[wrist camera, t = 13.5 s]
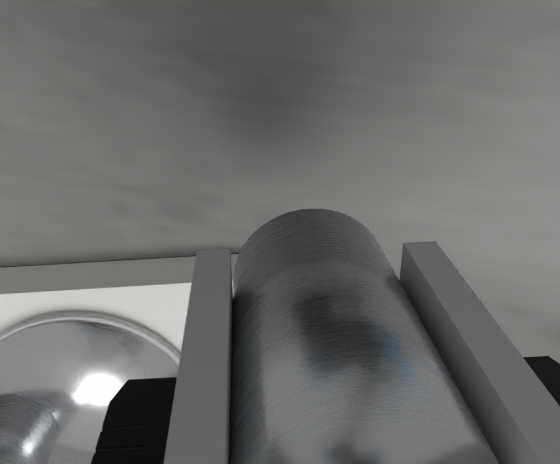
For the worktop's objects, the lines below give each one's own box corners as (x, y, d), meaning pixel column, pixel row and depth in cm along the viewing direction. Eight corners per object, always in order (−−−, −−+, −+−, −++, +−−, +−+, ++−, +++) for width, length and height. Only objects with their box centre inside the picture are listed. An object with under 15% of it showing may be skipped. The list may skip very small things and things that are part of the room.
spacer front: (229, 210, 13) (219, 429, 6) (392, 206, 13) (537, 412, 7) (236, 346, 14) (233, 625, 8) (380, 339, 15) (486, 605, 8)
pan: (-62, 320, 23) (-74, 334, 22) (190, 304, 24) (188, 317, 23) (2, 492, 28) (-6, 510, 27) (210, 476, 29) (210, 492, 28)
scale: (-50, 270, 25) (-146, 367, 19) (294, 250, 26) (312, 336, 20) (16, 464, 31) (-41, 589, 25) (298, 443, 32) (313, 558, 25)
